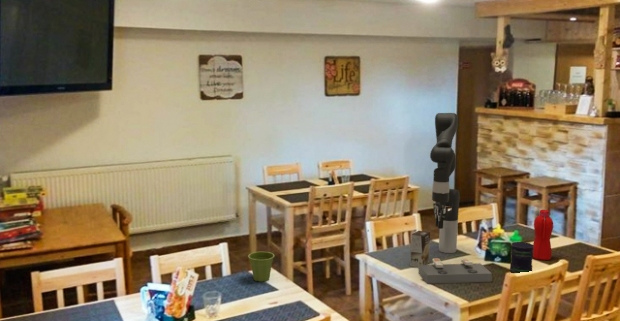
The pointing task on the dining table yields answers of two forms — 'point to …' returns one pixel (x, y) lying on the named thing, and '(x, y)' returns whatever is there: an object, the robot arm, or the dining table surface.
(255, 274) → the plant pot
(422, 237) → the coffee box
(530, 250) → the storage jar
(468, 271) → the switch panel
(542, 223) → the water bottle
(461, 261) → the rocker on
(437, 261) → the rocker off
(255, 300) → the dining table surface
